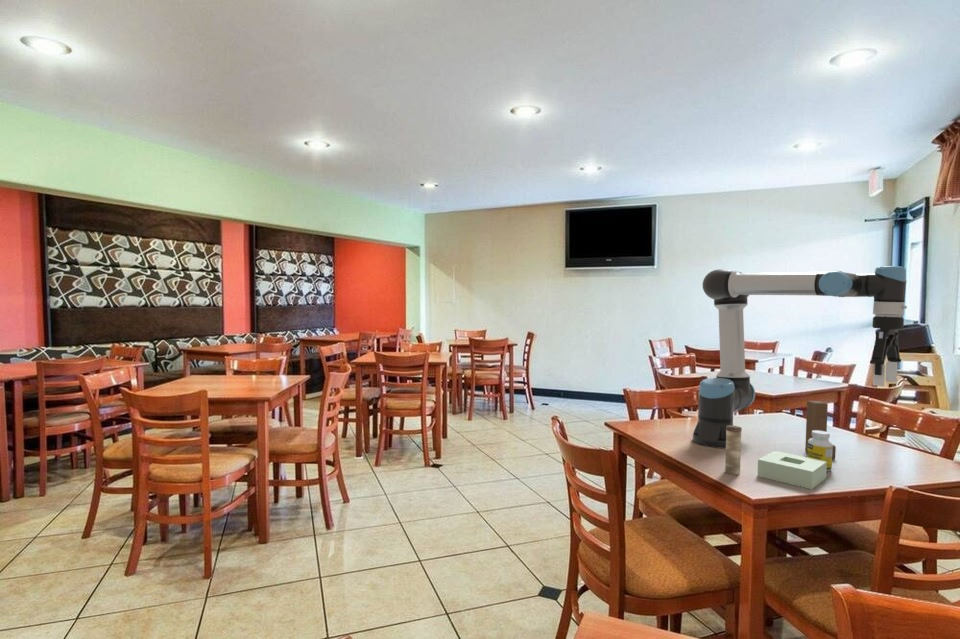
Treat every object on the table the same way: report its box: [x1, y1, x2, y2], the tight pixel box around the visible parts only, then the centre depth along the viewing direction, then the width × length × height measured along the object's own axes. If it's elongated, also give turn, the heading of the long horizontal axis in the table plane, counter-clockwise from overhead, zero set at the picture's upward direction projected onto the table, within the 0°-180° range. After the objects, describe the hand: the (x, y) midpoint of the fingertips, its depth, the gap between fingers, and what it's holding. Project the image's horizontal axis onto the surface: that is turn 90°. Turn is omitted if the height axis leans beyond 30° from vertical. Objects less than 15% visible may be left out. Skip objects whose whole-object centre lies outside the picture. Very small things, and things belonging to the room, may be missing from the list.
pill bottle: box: [806, 430, 834, 472], centre depth 156 cm, size 6×6×12 cm
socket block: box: [757, 450, 827, 490], centre depth 148 cm, size 14×14×5 cm
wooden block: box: [804, 400, 837, 460], centre depth 170 cm, size 9×4×18 cm, turn 0°
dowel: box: [724, 425, 743, 476], centre depth 150 cm, size 4×4×14 cm
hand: (884, 383), depth 155 cm, fingers open, 13 cm apart
